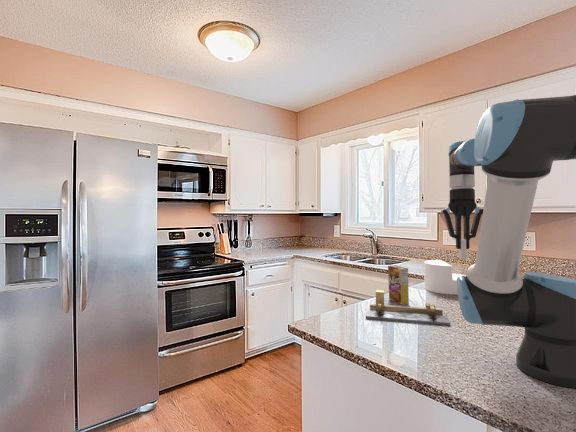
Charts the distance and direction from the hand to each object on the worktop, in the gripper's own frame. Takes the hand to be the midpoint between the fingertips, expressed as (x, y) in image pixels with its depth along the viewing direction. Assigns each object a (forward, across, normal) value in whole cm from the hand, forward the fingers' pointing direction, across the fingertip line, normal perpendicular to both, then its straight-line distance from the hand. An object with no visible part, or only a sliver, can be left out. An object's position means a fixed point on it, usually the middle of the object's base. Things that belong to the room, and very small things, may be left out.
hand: (462, 258), depth 110 cm
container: (+22, -6, -57) cm, 61 cm away
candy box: (+23, +18, -28) cm, 40 cm away
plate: (+23, +18, -6) cm, 29 cm away
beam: (+23, +17, -9) cm, 30 cm away
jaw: (+22, +27, -10) cm, 36 cm away
